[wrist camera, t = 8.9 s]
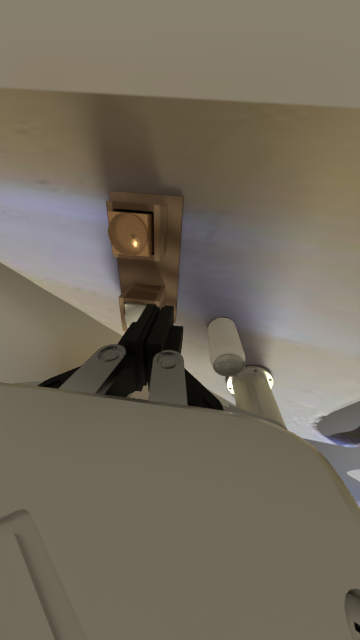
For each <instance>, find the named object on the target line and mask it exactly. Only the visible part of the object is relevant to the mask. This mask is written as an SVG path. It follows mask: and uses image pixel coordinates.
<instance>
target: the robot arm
mask: <svg viewBox="0 0 360 640" xmlns="http://www.w3.org/2000/svg"><path fill="white" fill-rule="evenodd" d="M173 324H174V306H168V305H165V307H162V308H161V310H160V307H157V305H156V304H147V306H146V307H145V309H144V310H143V312H142V314H141V315H140V317H139V319H138V320H137V322H132V323H131V325H130V326H129V328H128V329H127V331H126V332H125V334H124V335H123V337H122V338H121V340H120V341H119V343H118V344H111V345H107V346H104V347H102V348H100V349H99V350H97V351H96V352H95V353H94V354H93V355H92V356H91V357H90V358H89V359H88V360H87V361H86V362H85V363H84V364H83V365H82V366H80V367H77V368H75V369H72V370H70V371H67V372H65V373H63V374H60V375H57V376H55V377H52V378H50V379H48V380H46V381H44V382H42V383H41V382H40V381H39V382H25V383H3V382H0V640H360V508H359V506H358V504H357V503H356V501H355V499H354V498H353V496H352V495H351V493H350V492H349V490H348V488H347V487H346V485H345V484H344V482H343V481H342V479H341V477H340V476H339V475H338V474H337V472H336V470H335V469H334V468H333V466H332V465H331V464H330V463H329V461H328V460H327V459H326V458H325V457H324V456H323V455H322V454H321V453H320V452H319V451H318V450H317V449H316V448H315V447H314V446H312V445H311V444H310V443H308V442H307V441H305V440H304V439H302V438H301V437H299V436H298V435H296V434H294V433H292V432H290V431H288V430H287V428H286V426H285V423H284V421H283V418H282V416H281V413H280V411H279V408H278V406H277V403H276V401H275V398H274V396H273V393H272V391H271V388H272V386H273V384H274V380H273V377H272V375H271V373H270V372H269V371H268V370H266V369H264V368H262V367H258V366H245V367H244V369H243V371H242V372H240V373H239V374H237V375H234V376H228V378H227V381H226V383H227V388H228V390H229V391H230V392H231V393H232V394H234V396H235V401H236V407H234V406H231V405H230V406H229V407H226V406H223V405H222V404H221V403H220V401H219V400H218V399H217V398H216V397H215V396H214V395H213V394H212V393H211V392H209V391H208V390H207V389H206V388H205V387H204V386H203V385H202V384H201V383H200V382H199V381H198V380H197V379H196V378H194V377H193V376H192V375H191V374H190V373H189V372H188V371H187V370H186V369H185V368H184V360H183V357H182V355H181V349H182V339H183V327H182V326H173ZM147 383H148V389H149V397H148V400H143V399H135V398H131V397H132V393H133V392H135V391H142V388H143V385H145V386H146V385H147Z"/></svg>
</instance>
